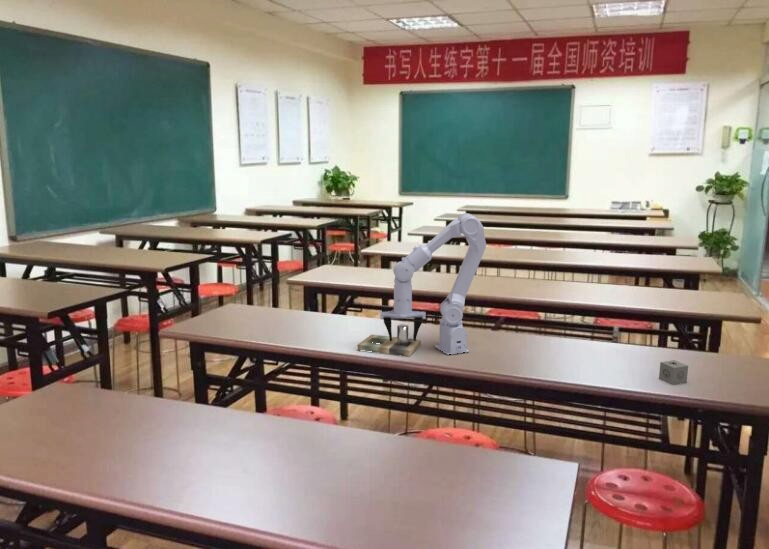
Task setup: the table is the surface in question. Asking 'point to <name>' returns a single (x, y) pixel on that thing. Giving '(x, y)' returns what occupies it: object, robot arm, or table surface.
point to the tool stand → (388, 345)
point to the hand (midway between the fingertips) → (402, 340)
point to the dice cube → (673, 372)
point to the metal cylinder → (402, 335)
